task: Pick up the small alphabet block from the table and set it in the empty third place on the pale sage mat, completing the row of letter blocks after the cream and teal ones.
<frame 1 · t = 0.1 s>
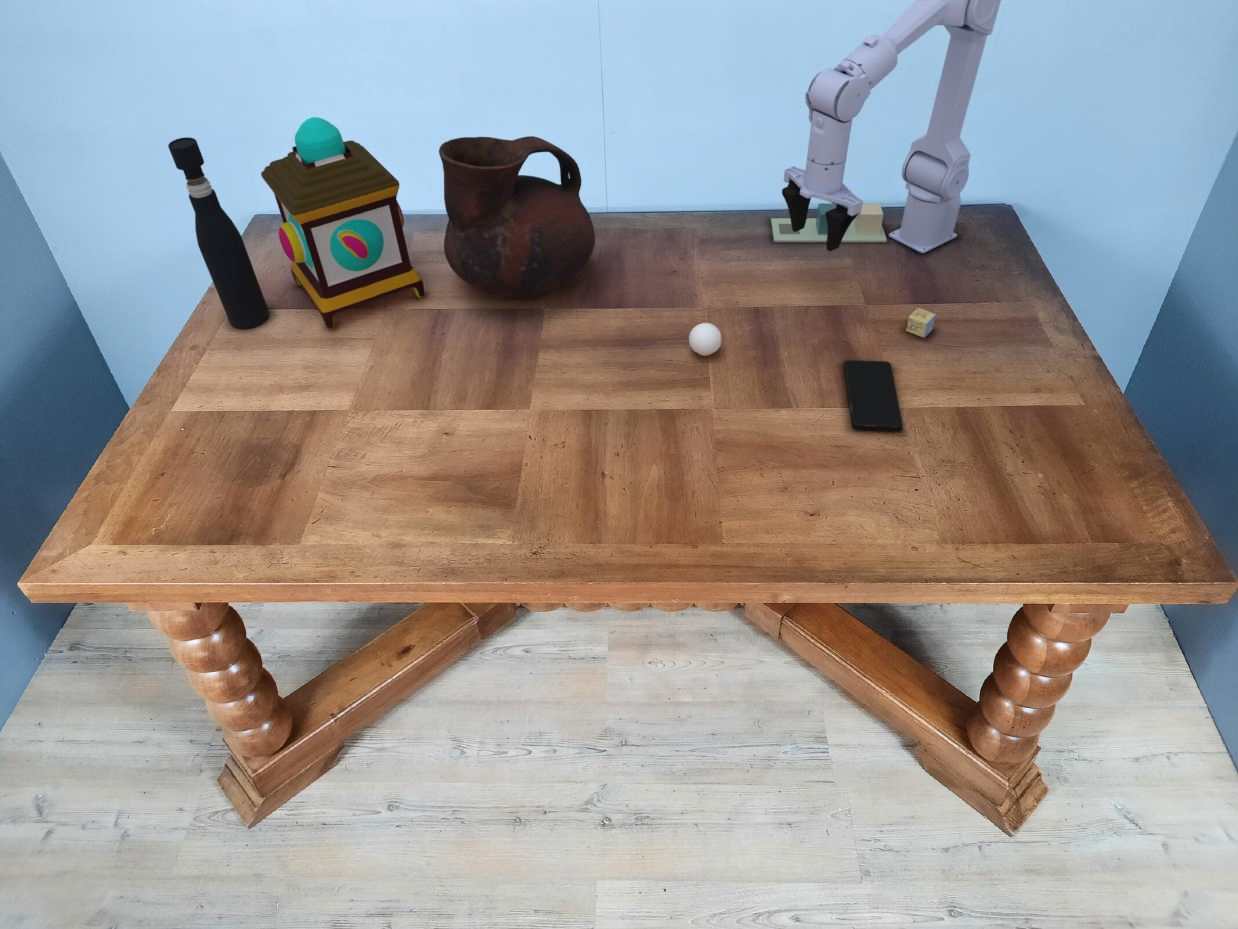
hand: (815, 238, 139), 10 cm above the table, tool pointing down, fingers open, 7 cm apart
teal letter block: (827, 229, 160), resting on word mat
jug: (524, 281, 152), on the table
smartphone: (871, 397, 127), on the table
white ping pong ball: (704, 353, 136), on the table
wine bottle: (250, 319, 146), on the table
alphabet block: (918, 331, 138), on the table
decorative lantern: (360, 291, 151), on the table
cream letter block: (866, 228, 160), resting on word mat
word mat: (827, 230, 161), on the table
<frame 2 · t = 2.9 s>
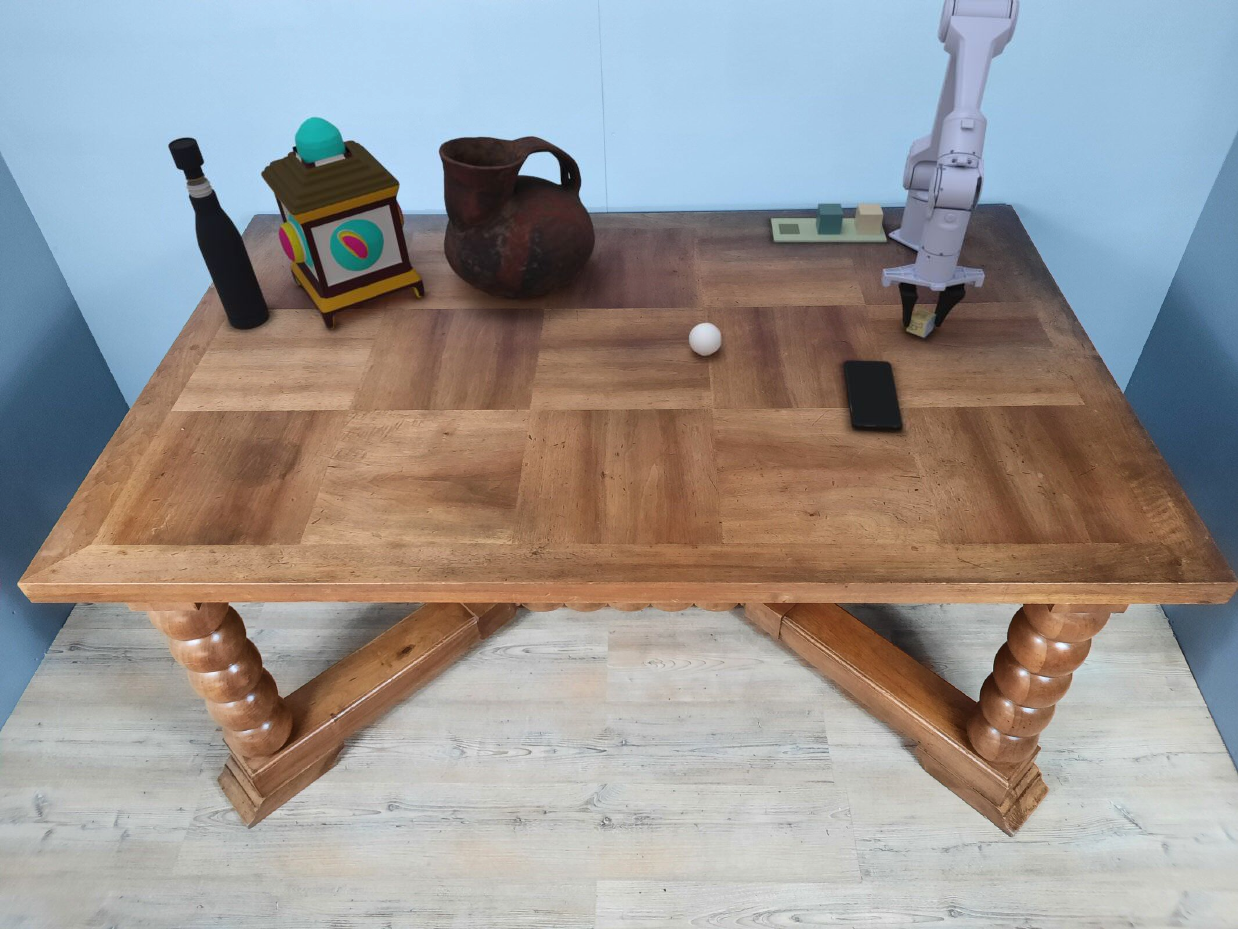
hand: (920, 323, 137), 1 cm above the table, tool pointing down, fingers closed on alphabet block, 4 cm apart
alphabet block: (918, 331, 138), on the table, touching gripper
everything else where it was.
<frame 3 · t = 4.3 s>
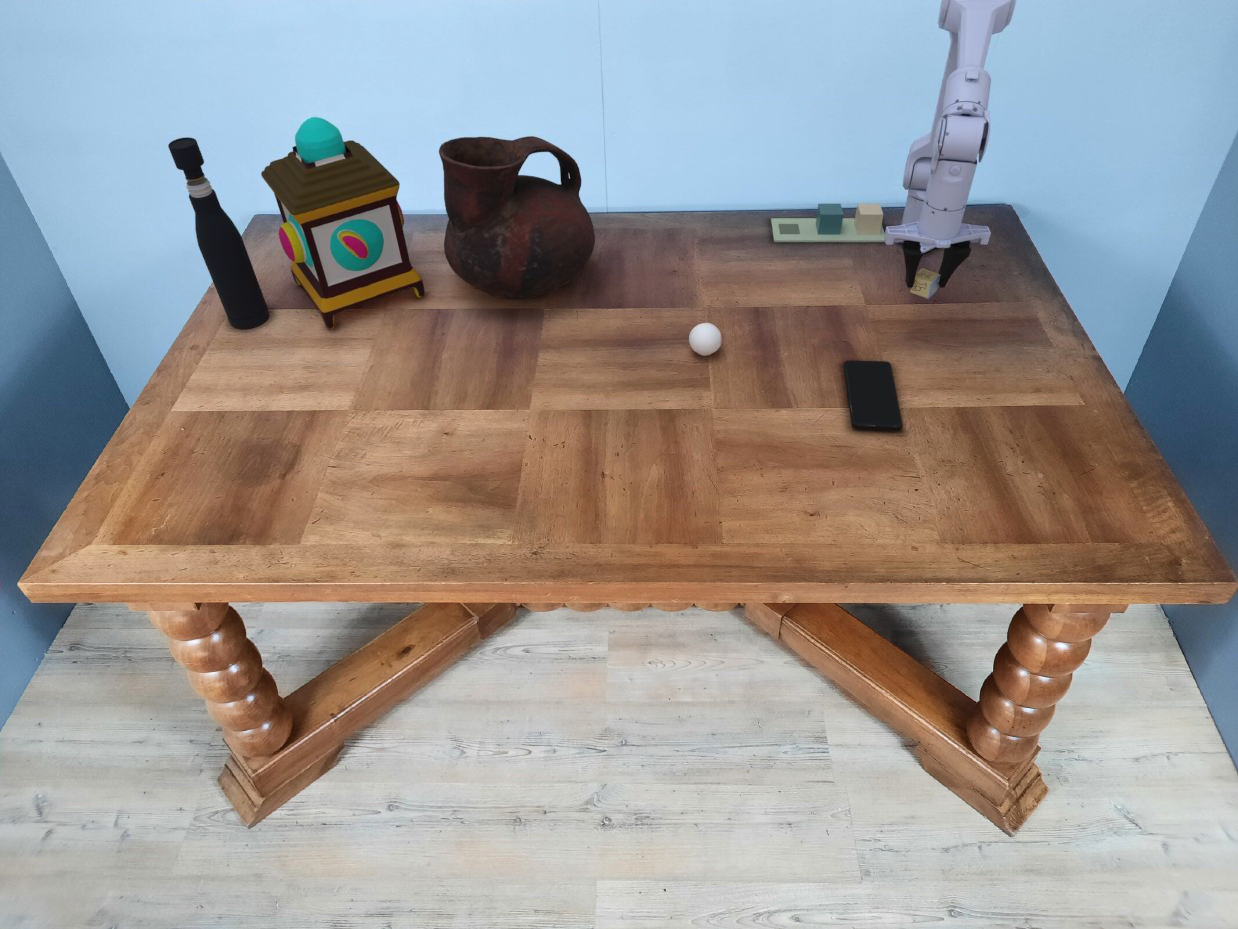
hand: (924, 284, 133), 8 cm above the table, tool pointing down, fingers closed on alphabet block, 4 cm apart
alphabet block: (922, 293, 134), point 6 cm above the table, touching gripper
everything else where it was.
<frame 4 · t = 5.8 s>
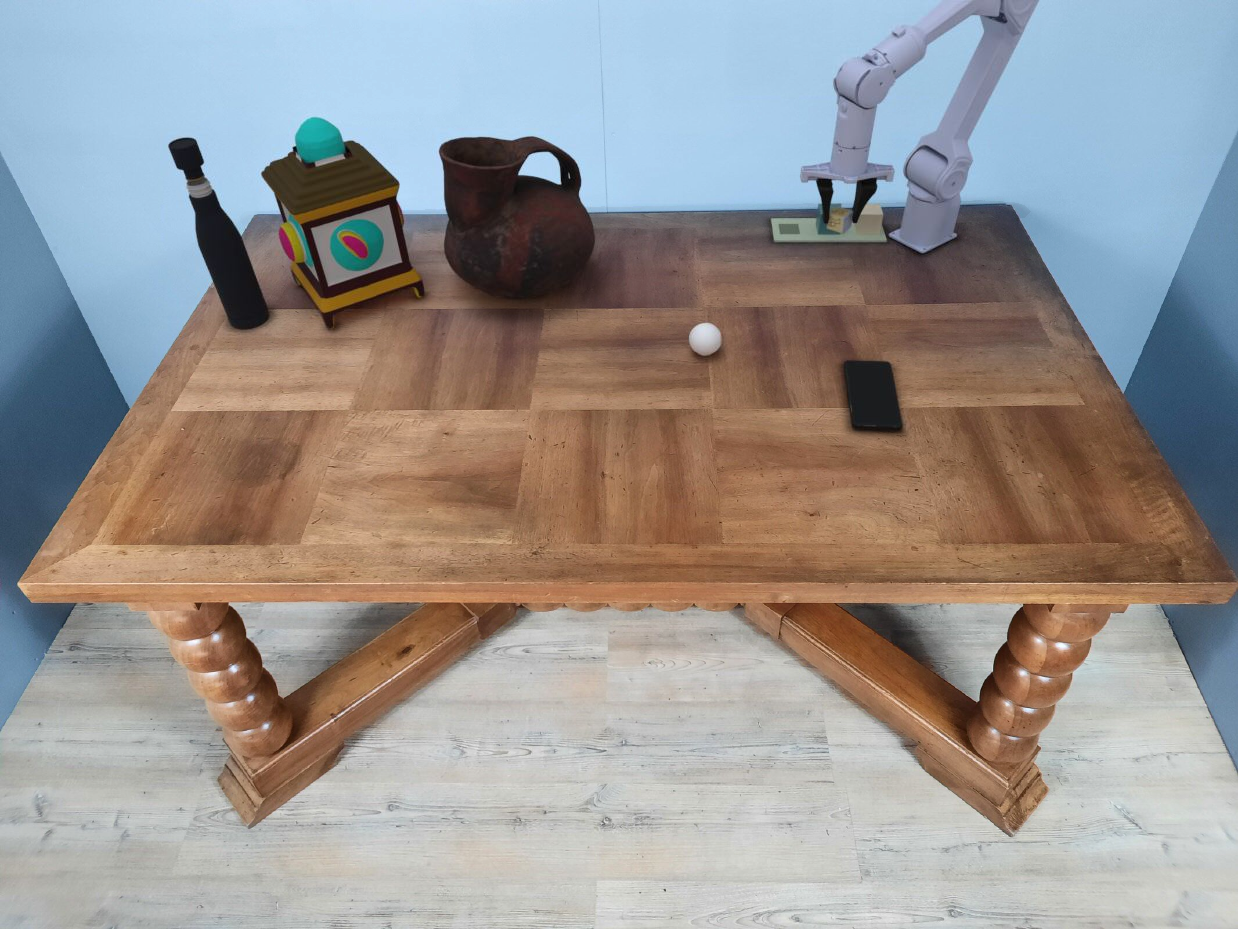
hand: (839, 220, 147), 8 cm above the table, tool pointing down, fingers closed on alphabet block, 4 cm apart
alphabet block: (838, 229, 148), point 7 cm above the table, touching gripper
everything else where it was.
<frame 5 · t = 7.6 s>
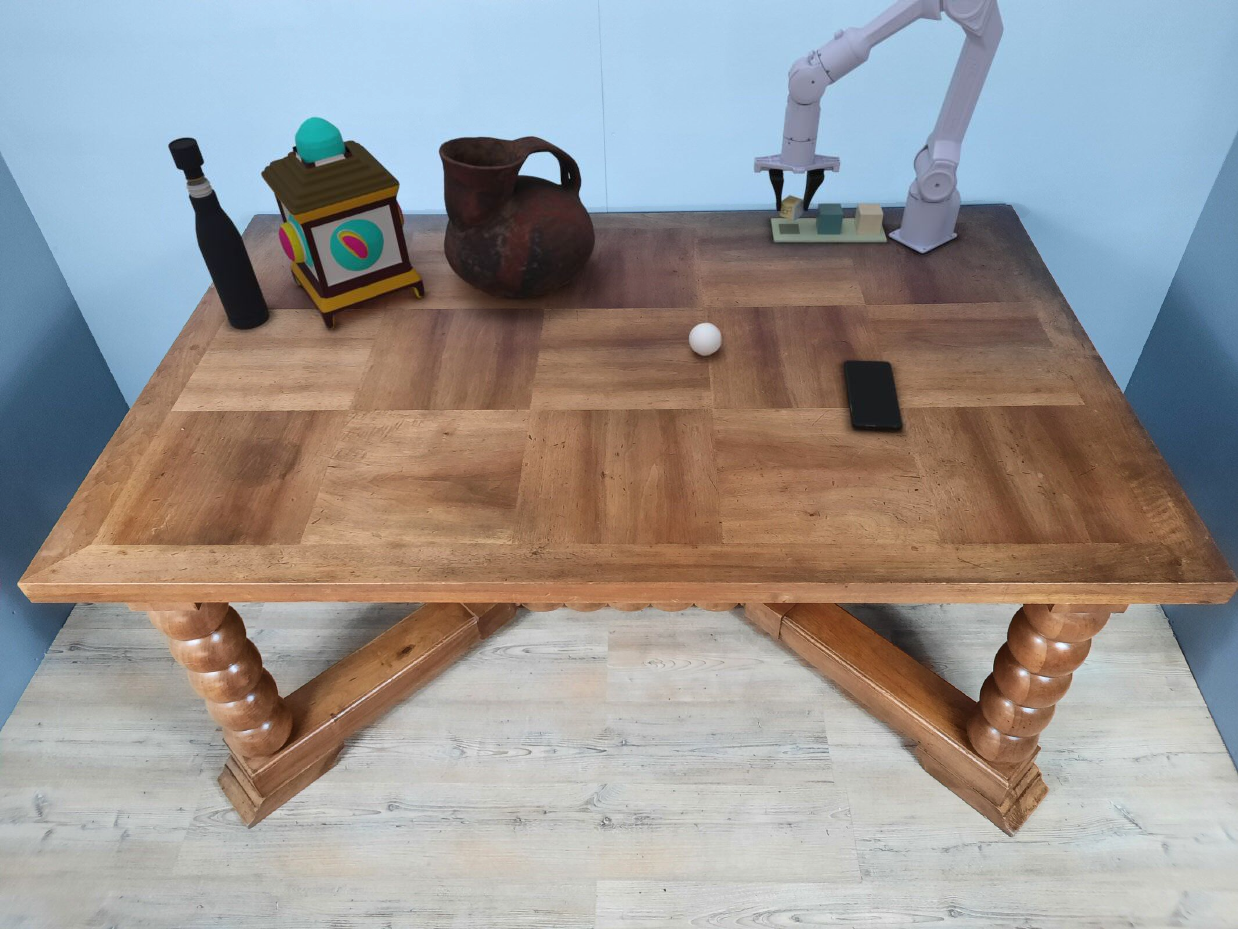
hand: (791, 208, 158), 5 cm above the table, tool pointing down, fingers closed on alphabet block, 4 cm apart
alphabet block: (790, 216, 159), point 3 cm above the table, touching gripper
everything else where it was.
when the fingers open (2 cm above the table, at t = 8.9 s): alphabet block stays where it is, resting on word mat.
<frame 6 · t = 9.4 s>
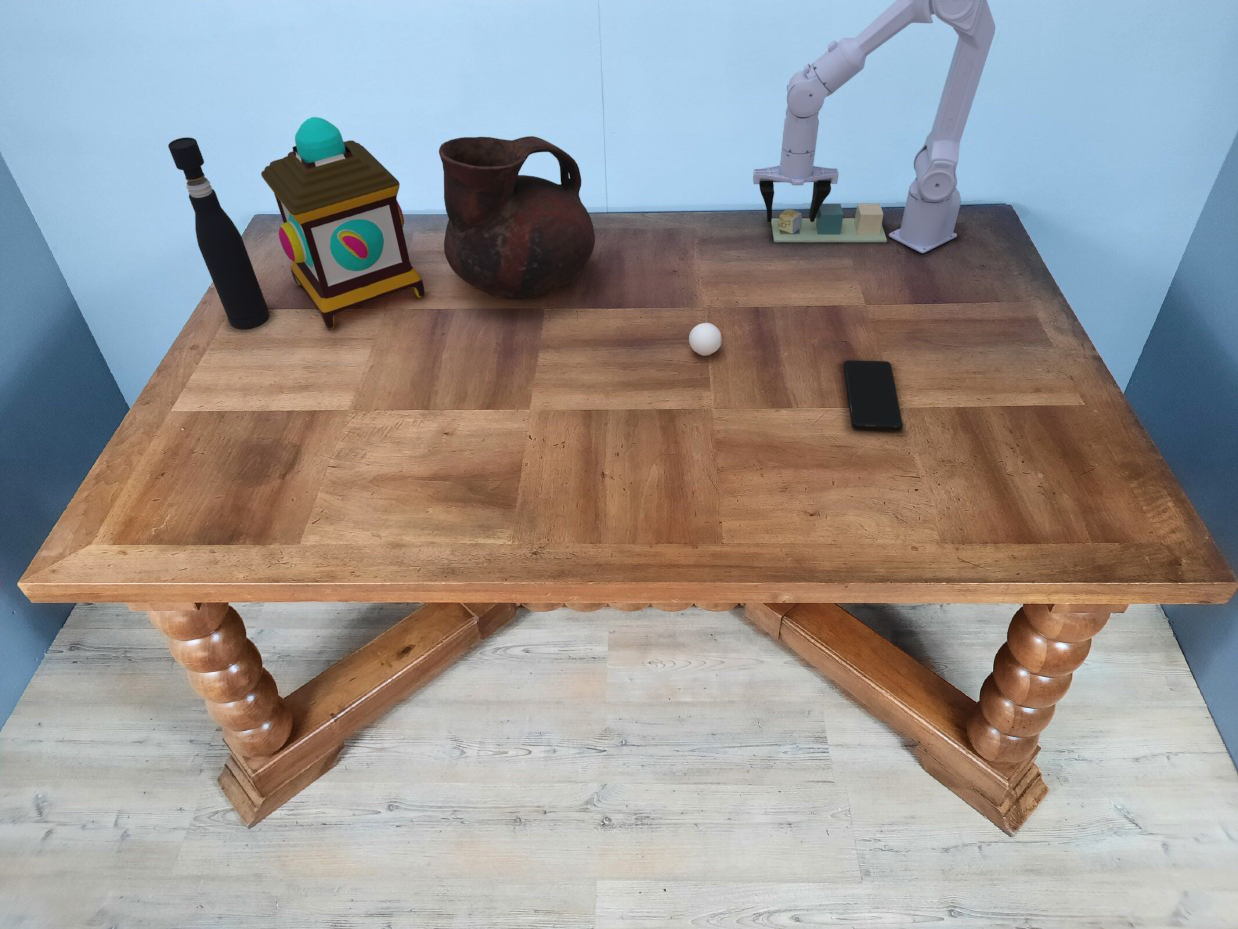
hand: (790, 219, 159), 2 cm above the table, tool pointing down, fingers open, 7 cm apart
alphabet block: (789, 229, 161), resting on word mat
everything else where it was.
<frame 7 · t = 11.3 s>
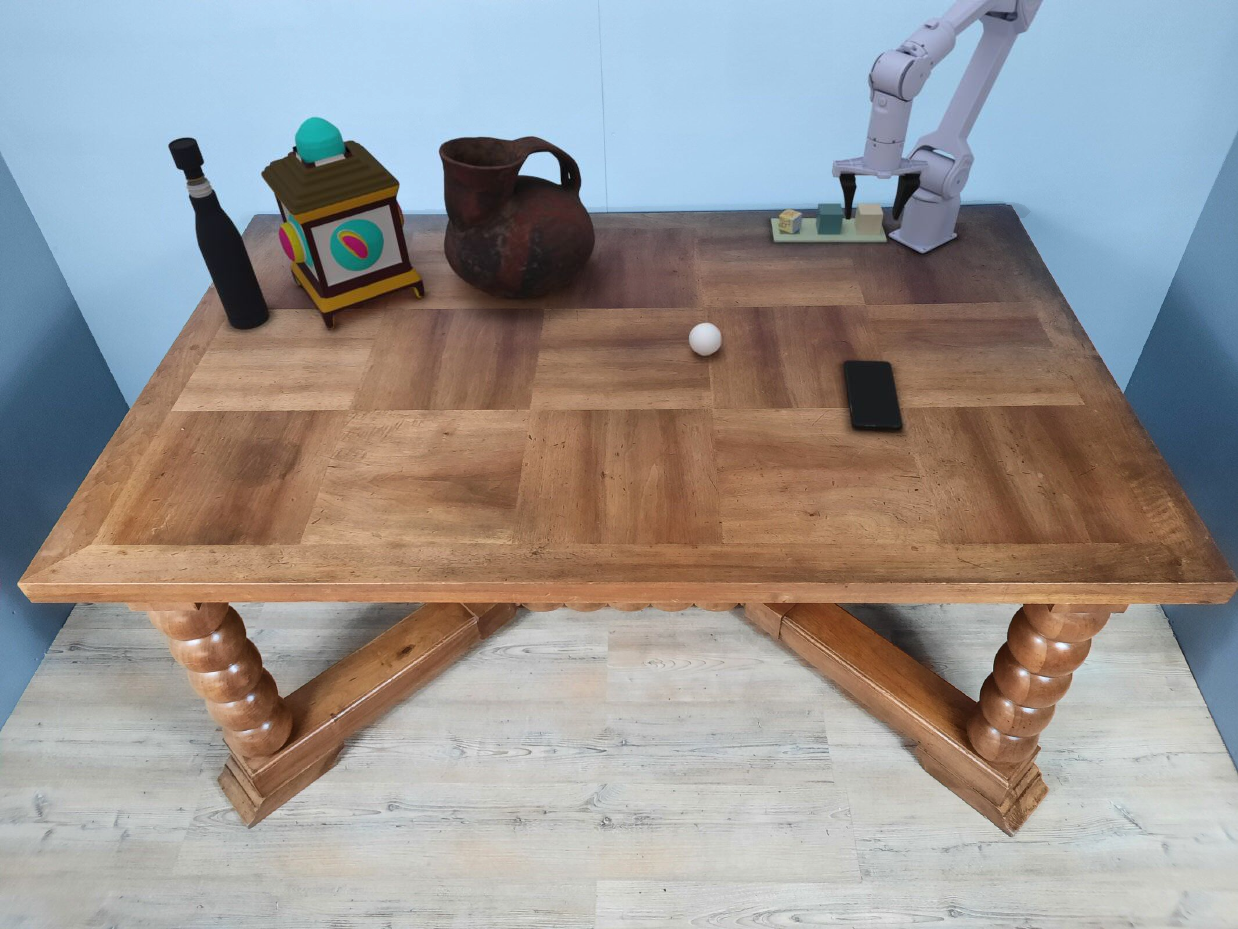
hand: (871, 216, 144), 10 cm above the table, tool pointing down, fingers open, 7 cm apart
nothing on the table moved.
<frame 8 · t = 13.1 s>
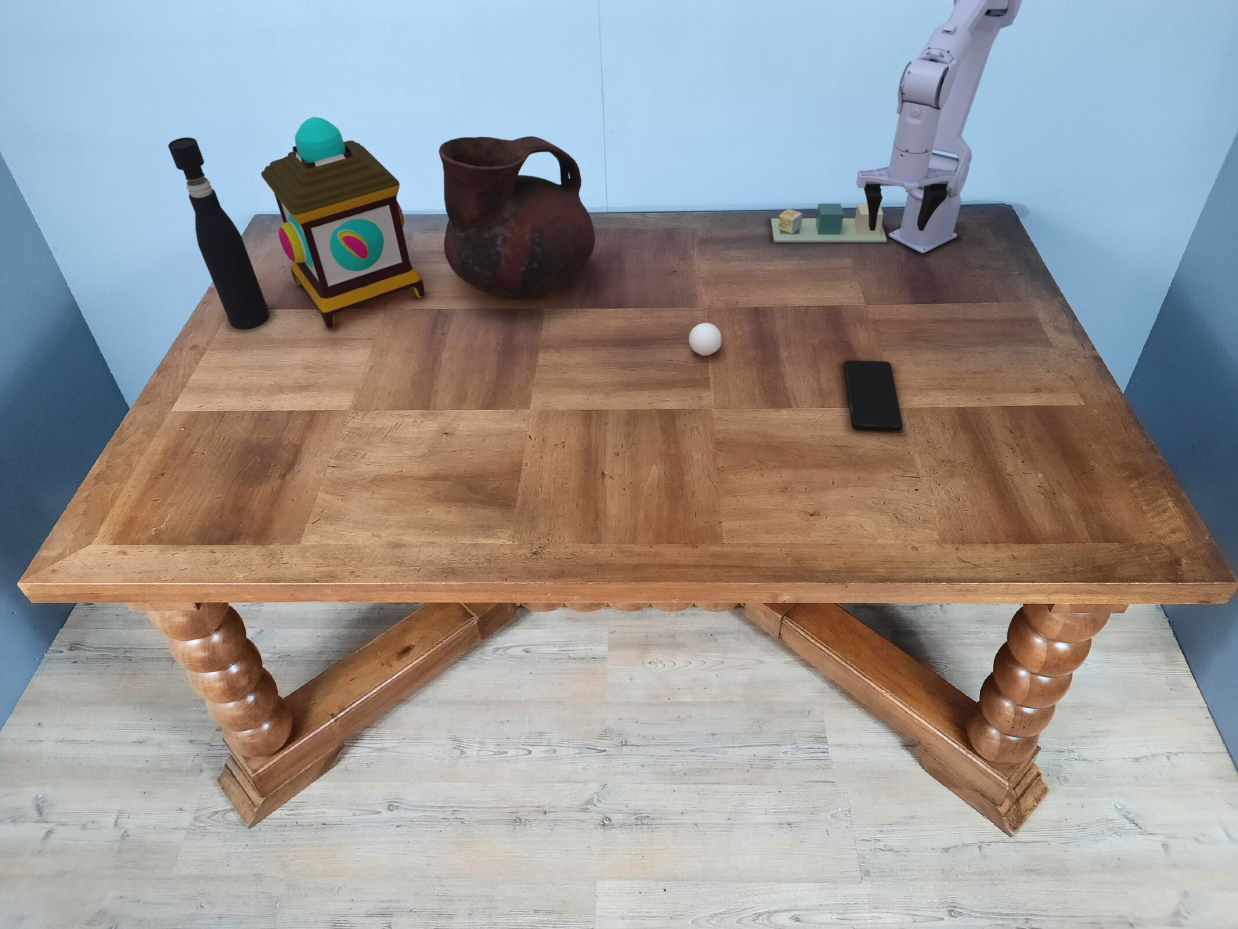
hand: (895, 227, 141), 10 cm above the table, tool pointing down, fingers open, 7 cm apart
nothing on the table moved.
at the end: alphabet block 0.1 cm from the target spot on the word mat, point 0.3 cm above the word mat's base; the gripper is holding nothing; teal letter block moved 0.0 cm from its start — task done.
